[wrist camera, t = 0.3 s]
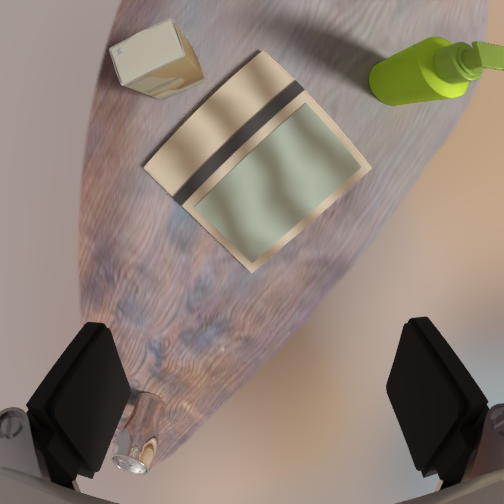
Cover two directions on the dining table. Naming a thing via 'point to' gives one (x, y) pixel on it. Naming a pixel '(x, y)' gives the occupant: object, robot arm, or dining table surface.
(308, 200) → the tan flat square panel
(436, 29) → the dining table surface
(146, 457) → the beer glass
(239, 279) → the dining table surface
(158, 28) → the skincare box
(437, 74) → the soap dispenser
